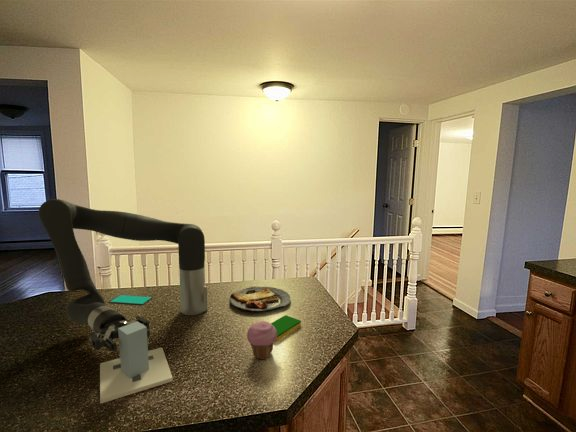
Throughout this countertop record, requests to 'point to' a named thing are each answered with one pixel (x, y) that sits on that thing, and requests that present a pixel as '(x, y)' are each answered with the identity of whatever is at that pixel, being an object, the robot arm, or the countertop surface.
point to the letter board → (120, 385)
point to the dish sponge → (285, 326)
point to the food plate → (259, 298)
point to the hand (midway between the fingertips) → (132, 340)
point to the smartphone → (131, 300)
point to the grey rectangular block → (133, 349)
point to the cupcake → (262, 338)
